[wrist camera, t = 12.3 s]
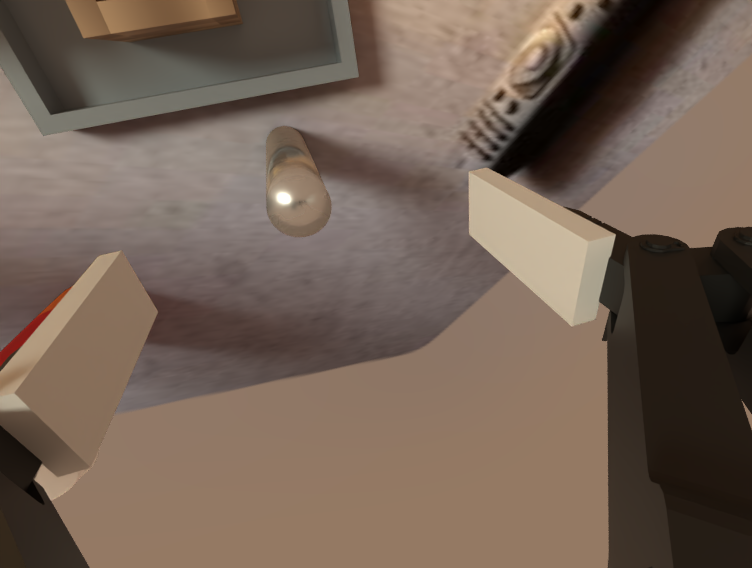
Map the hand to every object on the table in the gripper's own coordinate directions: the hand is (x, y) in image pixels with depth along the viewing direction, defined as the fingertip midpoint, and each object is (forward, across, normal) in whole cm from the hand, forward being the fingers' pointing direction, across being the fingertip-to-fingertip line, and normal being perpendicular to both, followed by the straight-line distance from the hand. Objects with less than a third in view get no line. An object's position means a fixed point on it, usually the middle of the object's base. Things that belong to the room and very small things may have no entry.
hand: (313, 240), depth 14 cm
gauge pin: (+18, 0, 0) cm, 18 cm away
